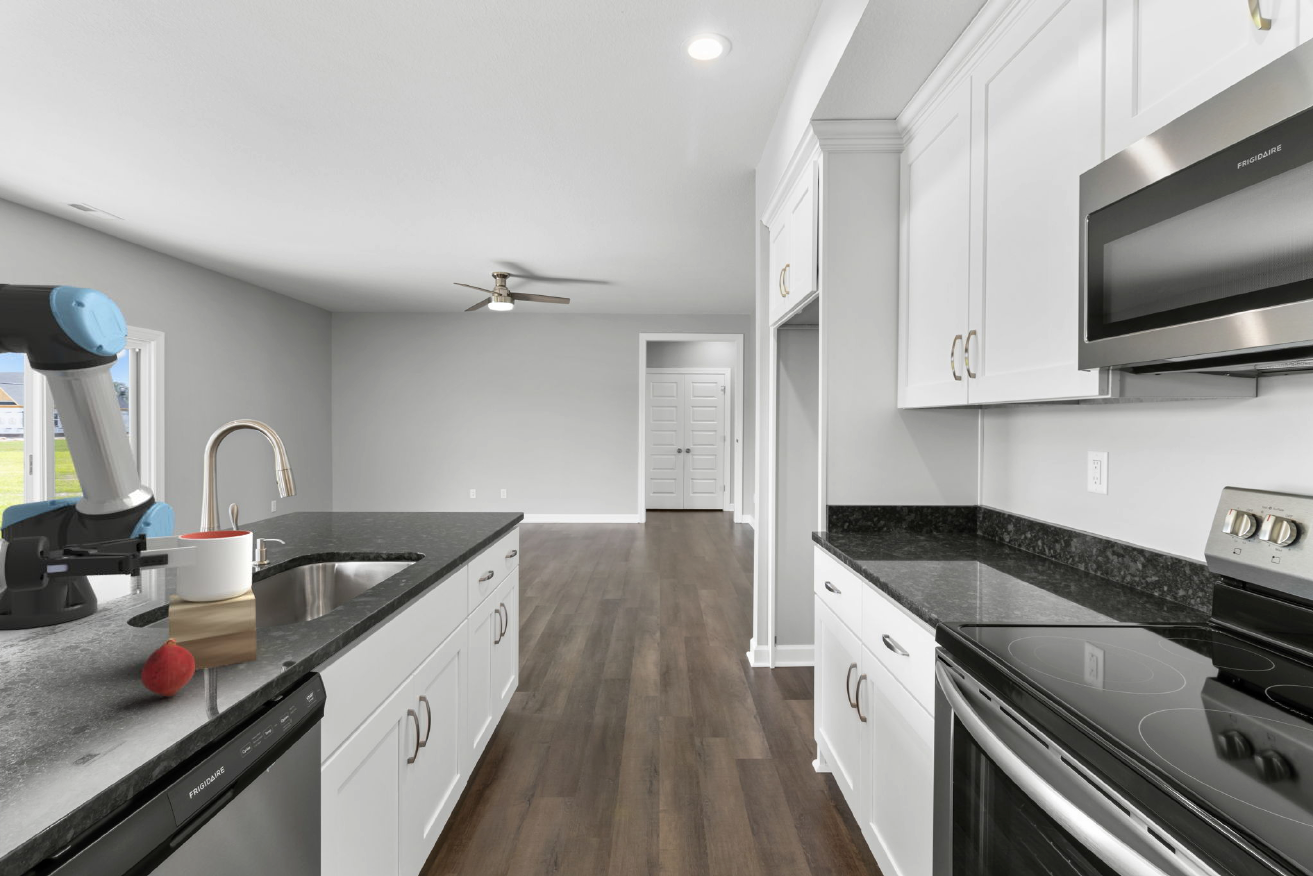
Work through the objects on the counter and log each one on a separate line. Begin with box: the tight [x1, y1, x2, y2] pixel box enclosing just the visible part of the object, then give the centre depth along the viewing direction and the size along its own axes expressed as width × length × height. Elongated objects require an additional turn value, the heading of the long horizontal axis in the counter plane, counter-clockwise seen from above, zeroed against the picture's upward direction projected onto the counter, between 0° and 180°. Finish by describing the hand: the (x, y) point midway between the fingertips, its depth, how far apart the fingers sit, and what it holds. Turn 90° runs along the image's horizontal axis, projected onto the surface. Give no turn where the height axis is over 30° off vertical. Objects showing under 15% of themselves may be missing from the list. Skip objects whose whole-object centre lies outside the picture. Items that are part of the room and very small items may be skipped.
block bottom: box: [175, 629, 258, 670], centre depth 101 cm, size 11×11×5 cm
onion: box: [140, 638, 196, 698], centre depth 86 cm, size 6×6×8 cm
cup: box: [176, 529, 253, 602], centre depth 101 cm, size 10×10×10 cm
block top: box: [168, 587, 257, 643], centre depth 101 cm, size 11×11×5 cm
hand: (196, 548), depth 100 cm, fingers open, 13 cm apart
